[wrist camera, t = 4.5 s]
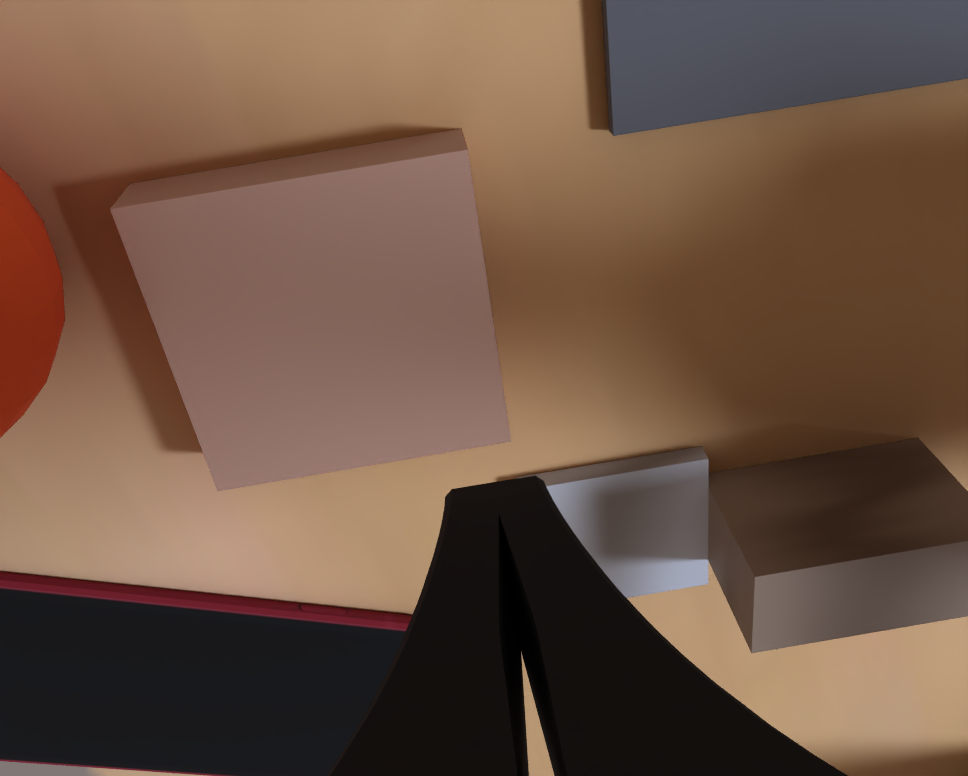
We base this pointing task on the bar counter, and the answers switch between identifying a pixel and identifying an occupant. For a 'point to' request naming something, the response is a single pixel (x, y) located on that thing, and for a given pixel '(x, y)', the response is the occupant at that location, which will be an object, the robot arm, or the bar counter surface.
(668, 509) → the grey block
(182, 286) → the tile
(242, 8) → the bar counter surface
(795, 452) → the bar counter surface
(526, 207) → the bar counter surface
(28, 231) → the clementine
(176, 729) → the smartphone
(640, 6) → the mat
